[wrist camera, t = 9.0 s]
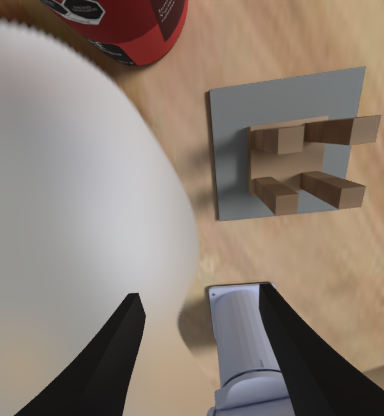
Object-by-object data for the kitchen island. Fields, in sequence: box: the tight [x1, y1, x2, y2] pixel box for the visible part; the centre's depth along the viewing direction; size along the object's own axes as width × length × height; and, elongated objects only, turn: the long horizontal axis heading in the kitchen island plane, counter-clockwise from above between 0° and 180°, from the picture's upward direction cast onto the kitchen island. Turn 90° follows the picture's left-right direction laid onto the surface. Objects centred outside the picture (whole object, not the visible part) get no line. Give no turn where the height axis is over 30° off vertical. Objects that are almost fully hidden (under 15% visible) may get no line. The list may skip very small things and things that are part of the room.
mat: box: [209, 66, 366, 221], centre depth 17 cm, size 12×12×1 cm
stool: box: [247, 115, 381, 216], centre depth 14 cm, size 6×6×6 cm
